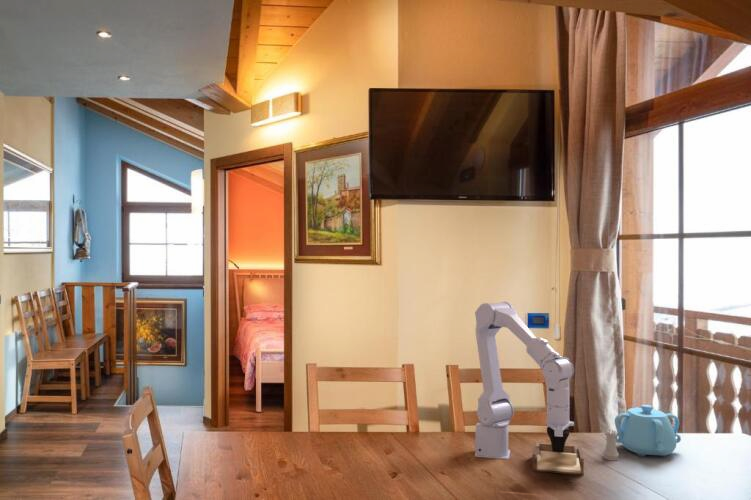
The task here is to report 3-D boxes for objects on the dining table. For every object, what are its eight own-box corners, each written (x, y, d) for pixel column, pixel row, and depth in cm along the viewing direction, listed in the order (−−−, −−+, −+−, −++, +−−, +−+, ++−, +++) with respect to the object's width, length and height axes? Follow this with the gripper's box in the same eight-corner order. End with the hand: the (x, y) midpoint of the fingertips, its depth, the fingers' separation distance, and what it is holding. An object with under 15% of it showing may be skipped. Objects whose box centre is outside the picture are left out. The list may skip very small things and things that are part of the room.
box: (532, 471, 166) (532, 454, 166) (532, 458, 176) (532, 442, 176) (583, 476, 162) (583, 458, 162) (580, 462, 173) (580, 445, 173)
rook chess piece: (620, 462, 174) (620, 433, 174) (604, 461, 174) (604, 432, 174) (617, 457, 178) (617, 429, 178) (601, 456, 179) (601, 428, 179)
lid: (537, 469, 157) (537, 457, 157) (537, 456, 167) (537, 445, 167) (580, 473, 154) (580, 460, 154) (578, 460, 164) (578, 448, 164)
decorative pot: (688, 453, 181) (688, 407, 181) (659, 464, 172) (659, 415, 172) (636, 440, 194) (636, 396, 194) (606, 449, 185) (606, 403, 185)
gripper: (575, 412, 155) (575, 467, 155) (572, 399, 169) (572, 449, 169) (546, 410, 156) (545, 464, 156) (545, 397, 170) (545, 446, 170)
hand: (557, 456), depth 163 cm, fingers closed
